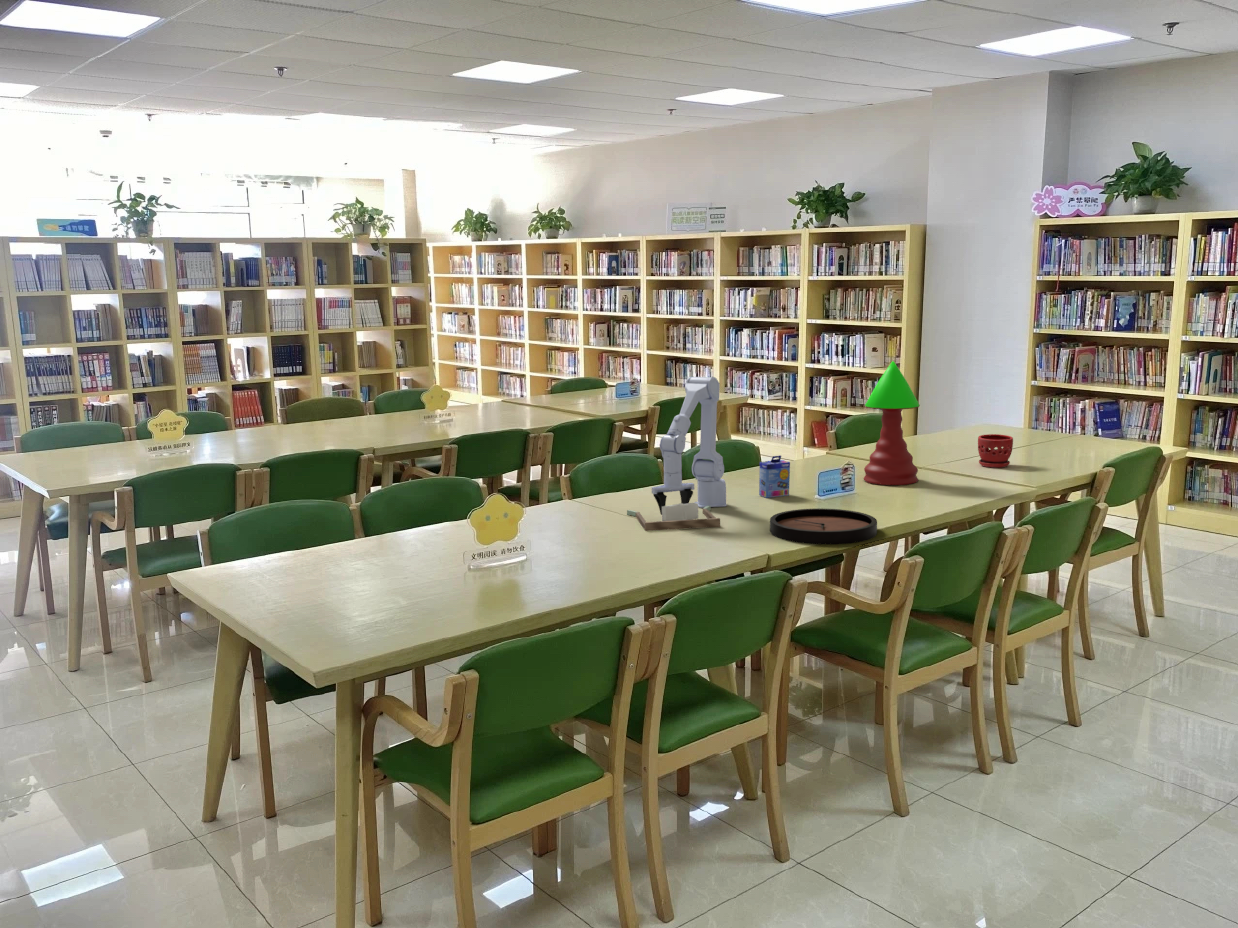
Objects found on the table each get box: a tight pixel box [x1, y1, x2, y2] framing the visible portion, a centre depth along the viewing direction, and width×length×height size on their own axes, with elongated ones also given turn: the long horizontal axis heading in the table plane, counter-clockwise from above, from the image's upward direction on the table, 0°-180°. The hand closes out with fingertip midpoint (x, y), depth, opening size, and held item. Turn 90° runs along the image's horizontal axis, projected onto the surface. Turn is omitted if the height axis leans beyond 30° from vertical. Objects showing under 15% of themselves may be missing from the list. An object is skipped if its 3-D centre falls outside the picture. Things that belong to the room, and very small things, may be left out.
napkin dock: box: [626, 506, 721, 532], centre depth 321 cm, size 28×24×2 cm
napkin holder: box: [661, 502, 699, 521], centre depth 321 cm, size 15×11×6 cm
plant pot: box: [977, 433, 1014, 469], centre depth 400 cm, size 13×13×12 cm
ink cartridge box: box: [758, 455, 791, 499], centre depth 354 cm, size 10×6×14 cm, turn 115°
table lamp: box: [863, 360, 920, 486], centre depth 373 cm, size 20×20×45 cm
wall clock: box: [769, 508, 878, 546], centre depth 301 cm, size 31×4×31 cm
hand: (673, 513), depth 325 cm, fingers open, 7 cm apart
